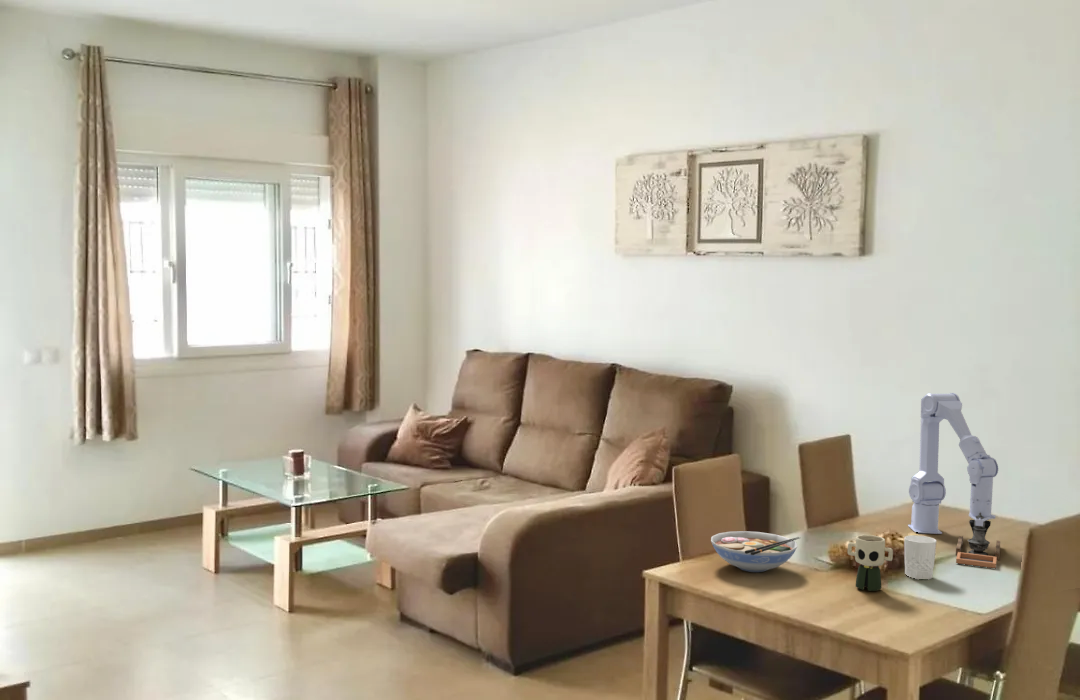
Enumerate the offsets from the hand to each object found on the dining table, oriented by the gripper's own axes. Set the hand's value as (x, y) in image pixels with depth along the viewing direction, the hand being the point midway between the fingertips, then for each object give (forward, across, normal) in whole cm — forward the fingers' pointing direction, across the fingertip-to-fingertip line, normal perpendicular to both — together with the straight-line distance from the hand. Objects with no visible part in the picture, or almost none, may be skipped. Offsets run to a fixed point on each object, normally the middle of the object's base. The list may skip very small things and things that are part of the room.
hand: (978, 545), depth 296 cm
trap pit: (+1, -15, 0) cm, 15 cm away
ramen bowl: (+2, -52, +54) cm, 74 cm away
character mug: (+2, -56, +24) cm, 60 cm away
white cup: (+2, -37, +13) cm, 39 cm away
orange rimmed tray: (+1, -1, 0) cm, 2 cm away
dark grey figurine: (+2, -4, 0) cm, 4 cm away
